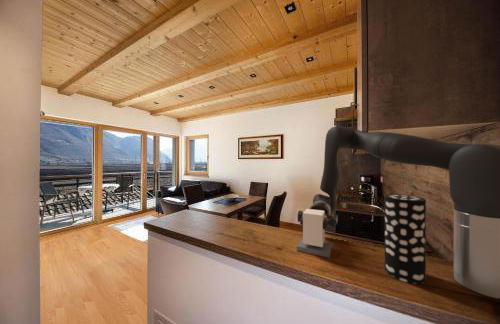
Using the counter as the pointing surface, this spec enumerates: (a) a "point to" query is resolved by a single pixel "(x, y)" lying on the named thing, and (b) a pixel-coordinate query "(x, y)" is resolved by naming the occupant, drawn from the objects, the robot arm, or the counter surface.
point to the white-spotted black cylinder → (405, 238)
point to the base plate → (315, 249)
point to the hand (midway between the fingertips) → (312, 224)
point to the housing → (313, 227)
